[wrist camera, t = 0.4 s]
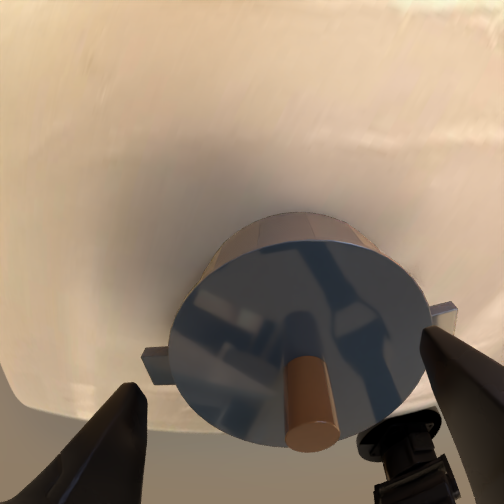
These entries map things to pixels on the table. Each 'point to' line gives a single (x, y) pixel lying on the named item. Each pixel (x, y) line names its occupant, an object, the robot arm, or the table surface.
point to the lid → (299, 342)
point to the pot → (273, 231)
